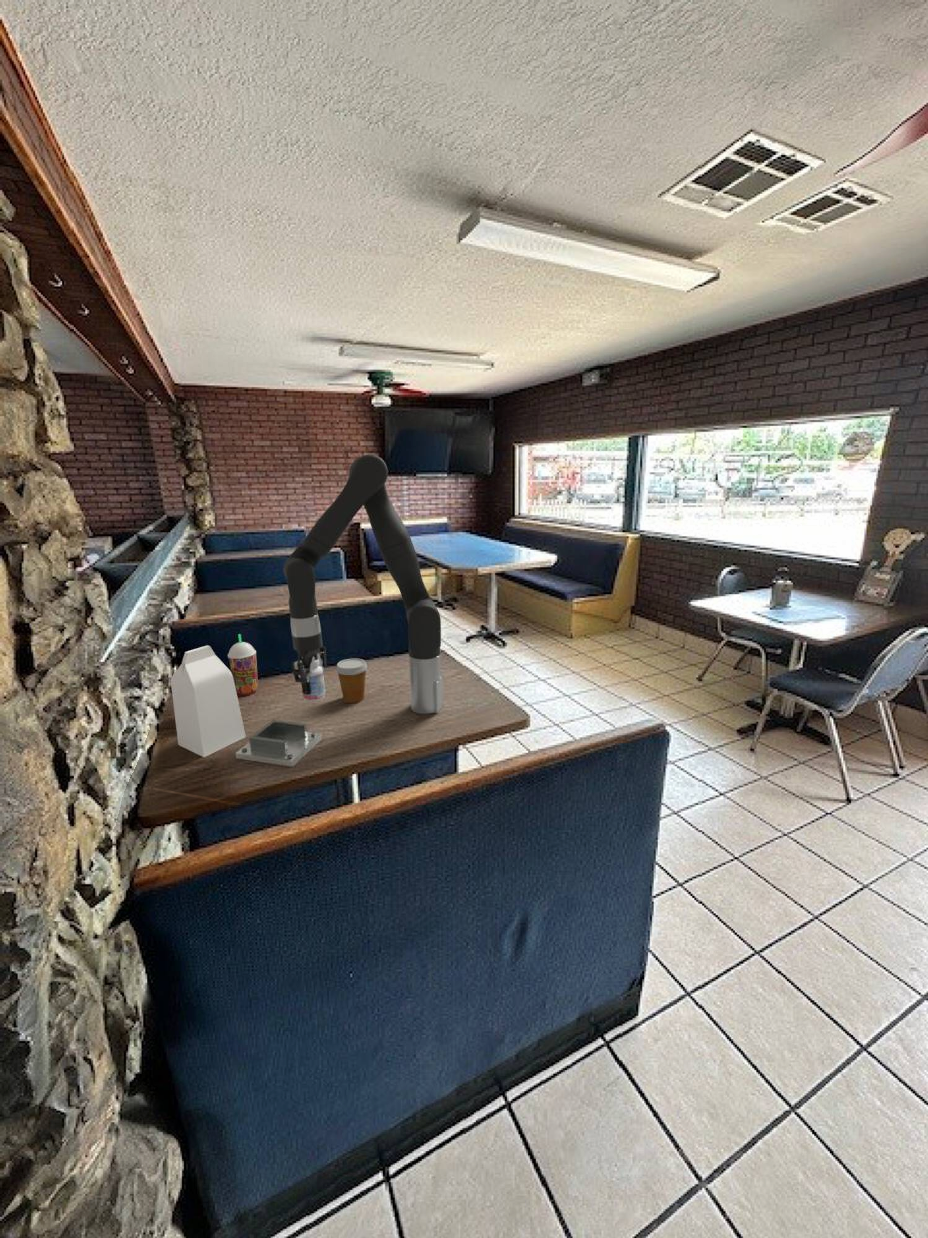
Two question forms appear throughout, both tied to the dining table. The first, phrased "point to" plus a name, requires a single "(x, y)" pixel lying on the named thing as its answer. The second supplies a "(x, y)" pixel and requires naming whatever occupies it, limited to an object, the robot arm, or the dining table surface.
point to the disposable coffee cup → (352, 679)
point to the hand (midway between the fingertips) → (313, 688)
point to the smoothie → (243, 667)
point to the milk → (205, 703)
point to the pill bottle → (316, 683)
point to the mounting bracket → (279, 743)
